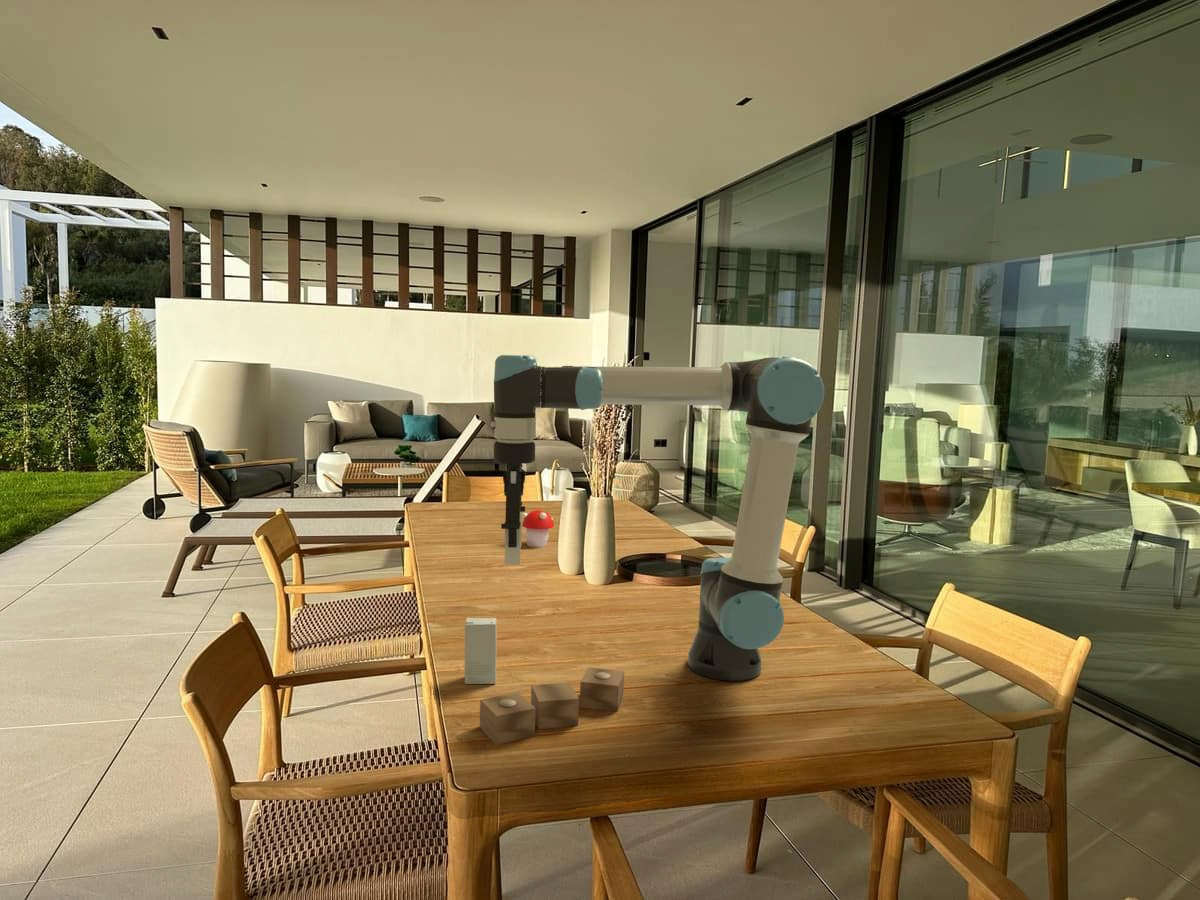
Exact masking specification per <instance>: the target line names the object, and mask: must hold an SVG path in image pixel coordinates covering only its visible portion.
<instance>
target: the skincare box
mask: <svg viewBox="0 0 1200 900" xmlns="http://www.w3.org/2000/svg"><path fill="white" fill-rule="evenodd" d="M497 620H498V619H497V618H496V617H466V618H465V621H464V622H465V623H464V685H493V684H494V685H495V684H496V682H497Z"/></svg>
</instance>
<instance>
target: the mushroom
mask: <svg viewBox="0 0 1200 900" xmlns="http://www.w3.org/2000/svg"><path fill="white" fill-rule="evenodd" d="M554 526H555V523H554V518H553V517H551V515H550V514H549V513H548V511H545V510H544V511H543V510H541V509H538V510H537V509H536V510H531V511H530V512H529V513H526V512H522V528H523V527H524V528H525V529H526V530H525V540H526V546H528V547H530V548H544V547H546V546H547V544H548V540H549V530H550V529H553V528H554ZM548 529H549V530H548Z"/></svg>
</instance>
